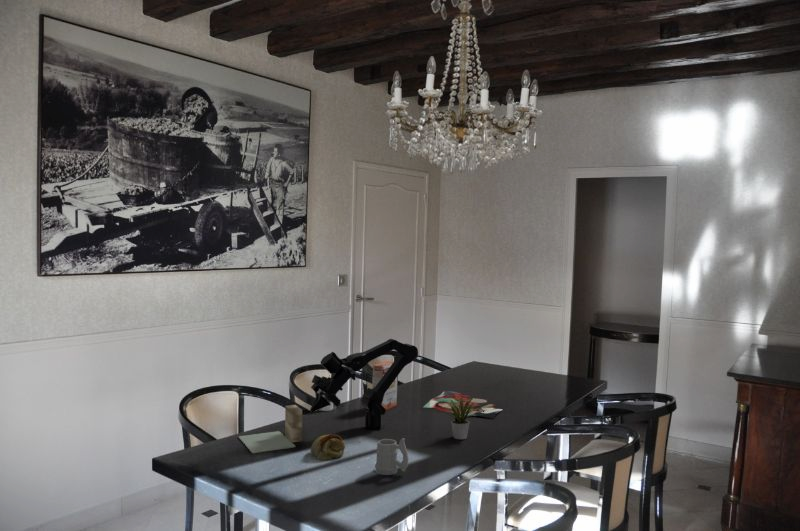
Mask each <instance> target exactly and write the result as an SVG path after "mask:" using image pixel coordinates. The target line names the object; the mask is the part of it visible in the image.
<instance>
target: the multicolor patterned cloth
mask: <svg viewBox="0 0 800 531" xmlns="http://www.w3.org/2000/svg"><path fill="white" fill-rule="evenodd" d="M455 396H456V397H457V398H458V399H457V398H456V397H455ZM459 397H461V399H462V400H463V410H464V407H465V404H466V402H468V401H469V400H470V399H468V398H470V397H471V396H470V395H466V394H464V393H461V392H457V391H452V390H451V391H449V390H444V391H443V392H442V393H441V394H439V395H438V396H436V397H433V398H431V399H430V400H429V401H428V402H427V403H426V404H425V405H424V406H423V408H428V409H429V408H430V409H432V408H433V409H438V411H439V412H441V413H445V414H450V413H449V412H452V413H453V411H450V410H452V408H451V406H452V402H451V401H450V400H449V399H451V400H452V401H453V402H454V403H455V405H456V406H458V409H459V412H460V414H461V411H460V405H459V401H460V399H459ZM448 398H449V399H448ZM471 399H472V398H471ZM458 400H459V401H458ZM445 402H446V403H445ZM476 402H477V403H476ZM472 403H475V404H473V405H472V406H471V407H470V409H469V410H471V409H473V410H471V411H470V412H469V414H468V415H469V416H471V417H473V416H474V415H475V416H474V417H483V418H488V419H492V420H493V419H494V418H495V417H496V416H497V415H498V414H499V413H500V412H501V411H503V409H501V408H495V407H496V406H497V405H496V404H491V403H490V404H486V403H488V400H487V399H482V398H474V399H472V400H471V402H470V403H469V405H468V406H470V405H471V404H472ZM482 403H483V404H486V405H484V406H480V405H479V404H482ZM449 404H450V405H451V406H450V405H449ZM468 406H467V407H468ZM493 406H494V407H493ZM453 407H454V406H453ZM468 408H469V407H468ZM467 410H468V409H467ZM467 410H466V411H467ZM447 411H449V412H447ZM483 411H484V412H483ZM470 414H474V415H470ZM468 415H467V417H469V416H468Z"/></svg>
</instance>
